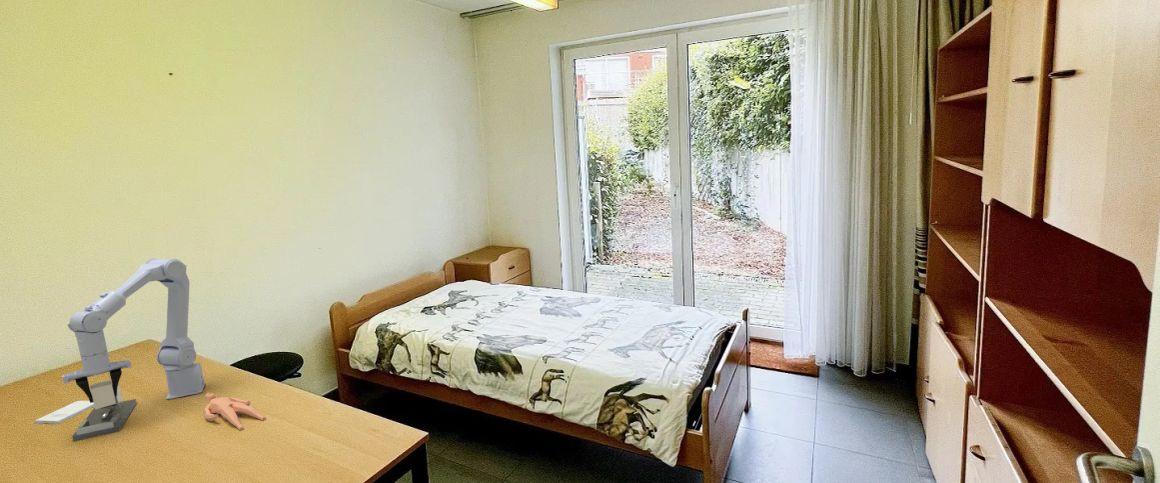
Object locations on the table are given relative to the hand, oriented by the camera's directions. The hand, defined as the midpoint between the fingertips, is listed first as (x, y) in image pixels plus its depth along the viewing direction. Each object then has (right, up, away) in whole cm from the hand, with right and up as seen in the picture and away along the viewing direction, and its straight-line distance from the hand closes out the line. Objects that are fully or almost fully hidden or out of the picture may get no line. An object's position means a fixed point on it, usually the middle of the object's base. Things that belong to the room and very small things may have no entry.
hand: (103, 398), depth 157 cm
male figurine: (+33, -7, +5) cm, 34 cm away
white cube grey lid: (0, -2, +1) cm, 2 cm away
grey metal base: (-4, -8, +5) cm, 10 cm away
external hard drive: (-21, -9, +12) cm, 26 cm away
